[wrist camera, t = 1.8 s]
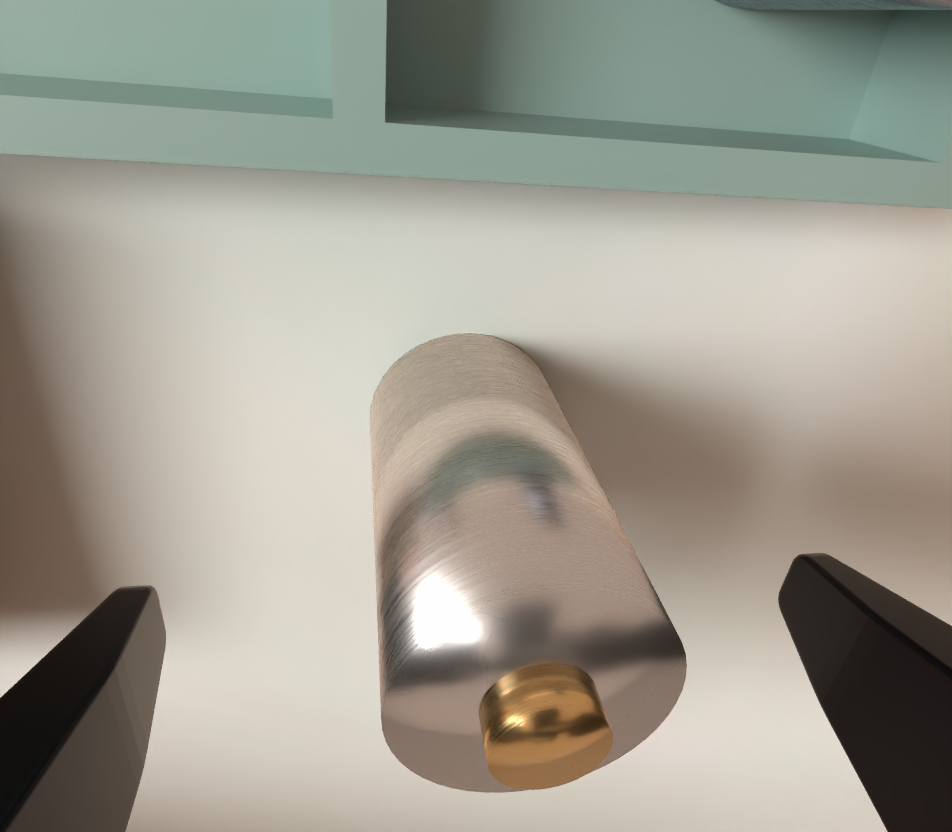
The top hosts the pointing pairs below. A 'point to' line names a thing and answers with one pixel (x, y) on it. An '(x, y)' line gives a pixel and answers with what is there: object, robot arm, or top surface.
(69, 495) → the top surface
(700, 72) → the trough tray
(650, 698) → the steel cell
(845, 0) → the dark cell
